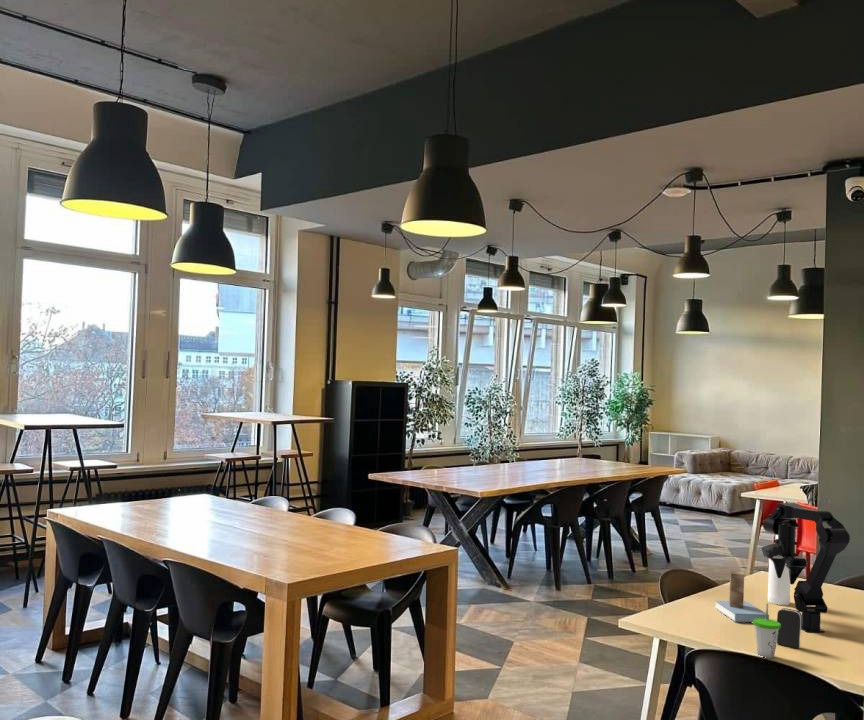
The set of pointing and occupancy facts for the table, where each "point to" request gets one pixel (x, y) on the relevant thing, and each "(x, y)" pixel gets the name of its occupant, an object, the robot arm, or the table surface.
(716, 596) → the table surface
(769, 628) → the cup
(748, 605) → the book
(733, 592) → the brown wooden block
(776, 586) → the bottle
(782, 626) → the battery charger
